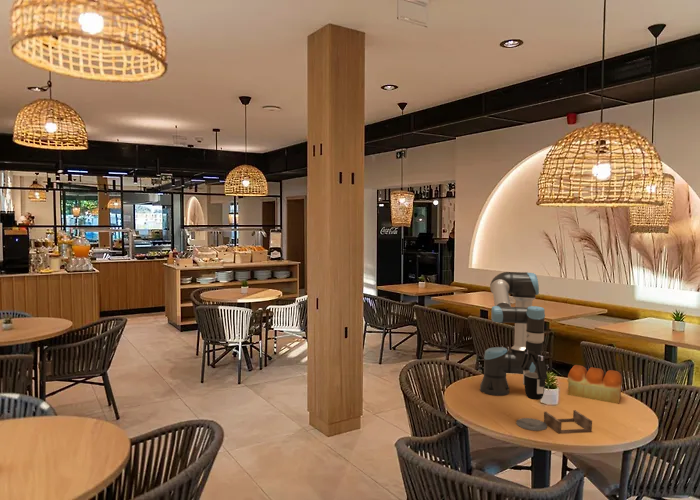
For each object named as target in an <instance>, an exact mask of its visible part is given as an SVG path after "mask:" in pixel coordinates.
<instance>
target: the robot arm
mask: <svg viewBox="0 0 700 500" xmlns="http://www.w3.org/2000/svg"><path fill="white" fill-rule="evenodd" d="M539 286H540V285H539V281H538V276H537V274H536V273H534V272H528V271H527V272H526V271H525V272H524V271H523V272H521V271H518V272H517V271H503V272H500V273H498V274H497V275H495V276H494V277H493V278H492V280H491V281H490V286H489V287H490V292H491V294H493V295H492V296H493V303H494V305H493V306H492V307H491V315H490V317H491V321H492V322H494V323H499V324H500V323H501V324H502V323H505V324H506V323H507V324H514V338H513V339H514V344H513V346H511V347H510V349H511V350H508V348H506V347H504V346H503V347H502V346H496V347H489V348H487V349H486V350H485V351H484V357H483V359H484V360H483V361H484V364H483V366H484V367H483V377H482V380H481V382H480V386H479V387H480V388H479V390H480V392H481V393H483V392H484V394H486V395H491V396H507V395H509V393H510V387H509V383H508V380H507V379H508V378H507V374H514V375H515V374H517V375H522V384H523V385H524V374H525V373H529V372H534V373H537V374H538V378H537V394H543V392H544V393H545V389H544V379H546V380H548V373H547V368H546V367H547V366H546V362H545V361H546V356H545V355H542V354H541V352H543V351H544V345H545V344H544V341H545V319H546V313H545V312H546V310H545V308H544V307H543V306H542V307H541V306H536V305H533V301H534V300H535V299H536V296H538V295H539V294H540V291H539V290H540V288H539ZM510 294H511V295H512V298H513V299H514V301H515V303H514V304H515V305H514V306H512V305H511V299H510ZM524 386H525V385H524ZM543 395H544V394H543Z"/></svg>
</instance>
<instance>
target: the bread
mask: <svg viewBox="0 0 700 500" xmlns="http://www.w3.org/2000/svg"><path fill="white" fill-rule="evenodd" d="M567 383H568V384H567V396H572V397H579V398H582V399H583V398H584V399H589V400H595V401H600V402H606V403H611V404H617V405H618V404H620V400H621V397H622V386H623V376H622V374H621V372H619V371H617V370H613V369H612V370H611V369H609V370H607V371H606V372H604V370H603V369H602V368H598V367H593V366H592V367H590V368H588V370H587V368H586V367H584V366H583V365H579V364H575V365H572V368H570V370H569V372H568V374H567Z"/></svg>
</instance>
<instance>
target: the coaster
mask: <svg viewBox="0 0 700 500" xmlns="http://www.w3.org/2000/svg"><path fill="white" fill-rule="evenodd" d="M515 424H516V425H517V426H518V427H520V428H521V429H525V430H528V431H534V432H540V431H544V430H547V428H548V425H547V424H546V423H544V421H542V420H539V419H537V418H531V417H523V418H519V419H516V423H515Z"/></svg>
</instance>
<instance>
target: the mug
mask: <svg viewBox="0 0 700 500" xmlns="http://www.w3.org/2000/svg"><path fill="white" fill-rule="evenodd" d="M537 378H538V374H537V372H529V373H525V374H524V393H525V396H526V398H528V399H530V400H533V401H534V400H535V401H537V400H538V401H539V400H542V399H543V398H544V394H545V391H544V392H543V394H537ZM546 380H547V379H544V390H545V387H546Z"/></svg>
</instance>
